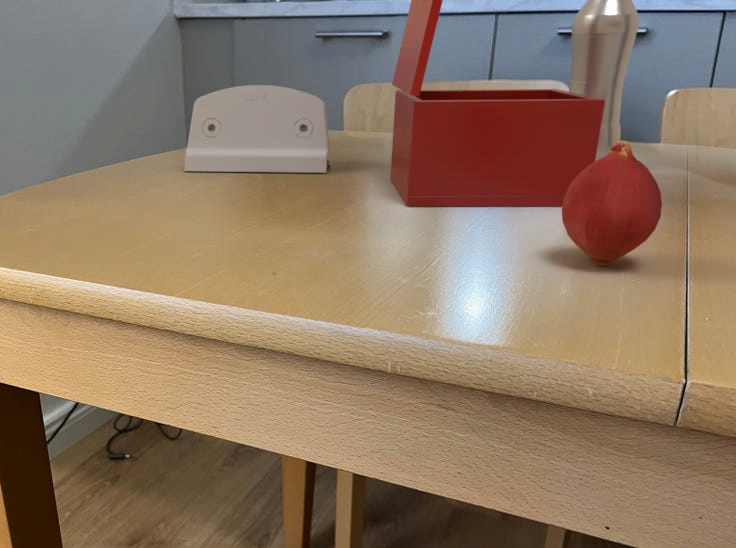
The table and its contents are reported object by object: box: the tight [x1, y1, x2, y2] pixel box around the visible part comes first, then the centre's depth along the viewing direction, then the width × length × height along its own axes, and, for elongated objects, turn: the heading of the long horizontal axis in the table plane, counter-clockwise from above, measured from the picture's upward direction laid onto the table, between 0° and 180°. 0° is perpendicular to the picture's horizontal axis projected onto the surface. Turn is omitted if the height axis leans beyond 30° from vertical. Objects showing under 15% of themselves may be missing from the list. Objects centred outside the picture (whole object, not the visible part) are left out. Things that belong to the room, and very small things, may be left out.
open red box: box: [389, 88, 605, 207], centre depth 71 cm, size 16×13×9 cm
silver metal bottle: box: [568, 0, 640, 161], centre depth 82 cm, size 6×7×20 cm
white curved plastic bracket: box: [184, 84, 332, 174], centre depth 86 cm, size 17×5×10 cm, turn 82°
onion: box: [561, 140, 663, 266], centre depth 48 cm, size 6×6×8 cm
